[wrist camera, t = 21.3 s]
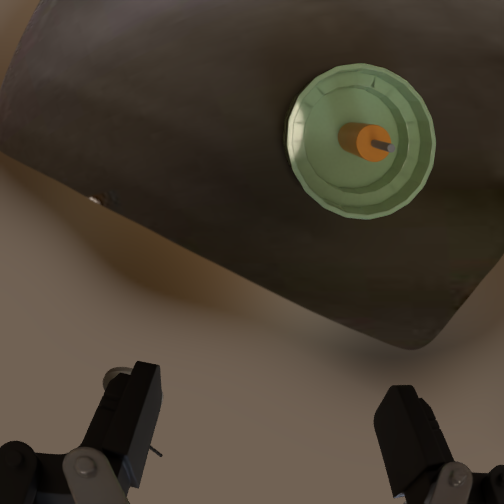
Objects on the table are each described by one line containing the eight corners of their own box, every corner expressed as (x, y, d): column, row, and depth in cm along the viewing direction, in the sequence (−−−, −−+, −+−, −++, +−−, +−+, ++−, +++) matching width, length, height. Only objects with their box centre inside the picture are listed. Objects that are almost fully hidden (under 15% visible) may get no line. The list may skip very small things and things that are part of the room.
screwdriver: (369, 150, 33) (413, 166, 23) (341, 155, 33) (375, 173, 23) (363, 120, 32) (406, 124, 21) (334, 125, 32) (367, 130, 22)
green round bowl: (417, 189, 35) (442, 203, 29) (299, 215, 37) (306, 233, 31) (396, 65, 29) (419, 58, 24) (267, 84, 31) (269, 78, 25)
